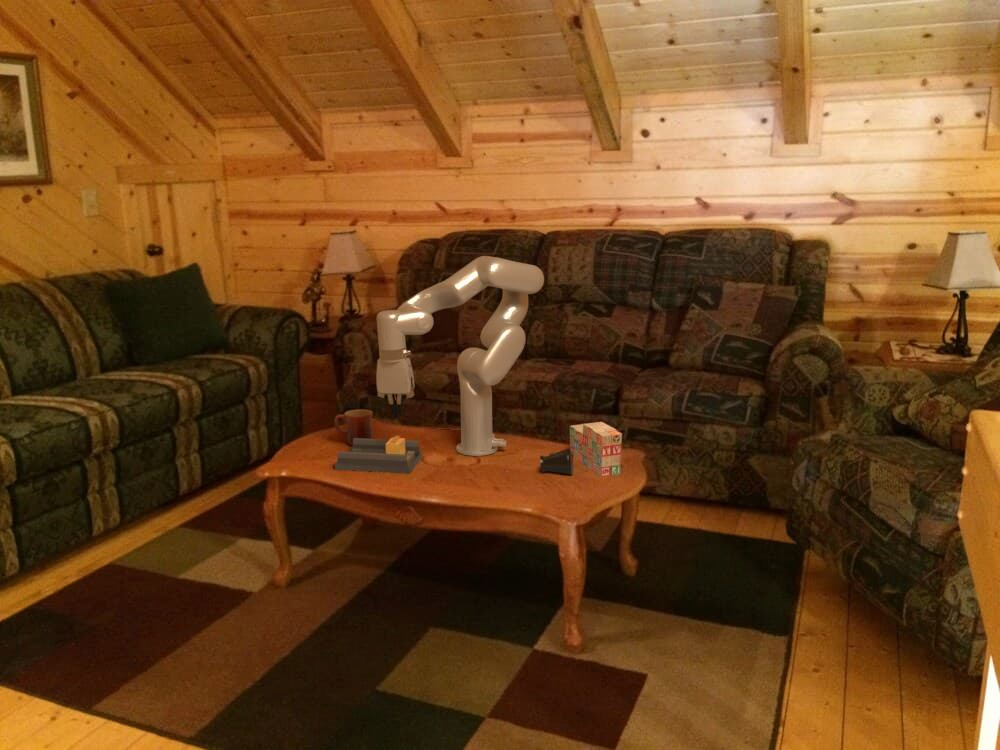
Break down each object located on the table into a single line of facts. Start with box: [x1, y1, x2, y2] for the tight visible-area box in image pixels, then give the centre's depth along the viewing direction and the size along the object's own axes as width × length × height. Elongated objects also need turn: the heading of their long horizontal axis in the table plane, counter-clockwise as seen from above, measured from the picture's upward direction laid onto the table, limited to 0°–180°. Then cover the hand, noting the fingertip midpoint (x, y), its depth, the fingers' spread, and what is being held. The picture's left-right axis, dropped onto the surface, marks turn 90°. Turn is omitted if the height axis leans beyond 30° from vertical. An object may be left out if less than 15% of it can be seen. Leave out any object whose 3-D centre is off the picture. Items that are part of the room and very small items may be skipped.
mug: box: [334, 408, 374, 447], centre depth 265 cm, size 12×9×10 cm
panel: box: [334, 447, 423, 475], centre depth 247 cm, size 22×14×3 cm, turn 80°
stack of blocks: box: [569, 421, 623, 478], centre depth 245 cm, size 21×6×12 cm, turn 20°
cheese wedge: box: [386, 435, 406, 455], centre depth 246 cm, size 4×6×6 cm, turn 170°
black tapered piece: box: [539, 447, 575, 476], centre depth 244 cm, size 8×18×8 cm
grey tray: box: [337, 438, 420, 467], centre depth 247 cm, size 20×15×3 cm
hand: (397, 416), depth 244 cm, fingers closed
